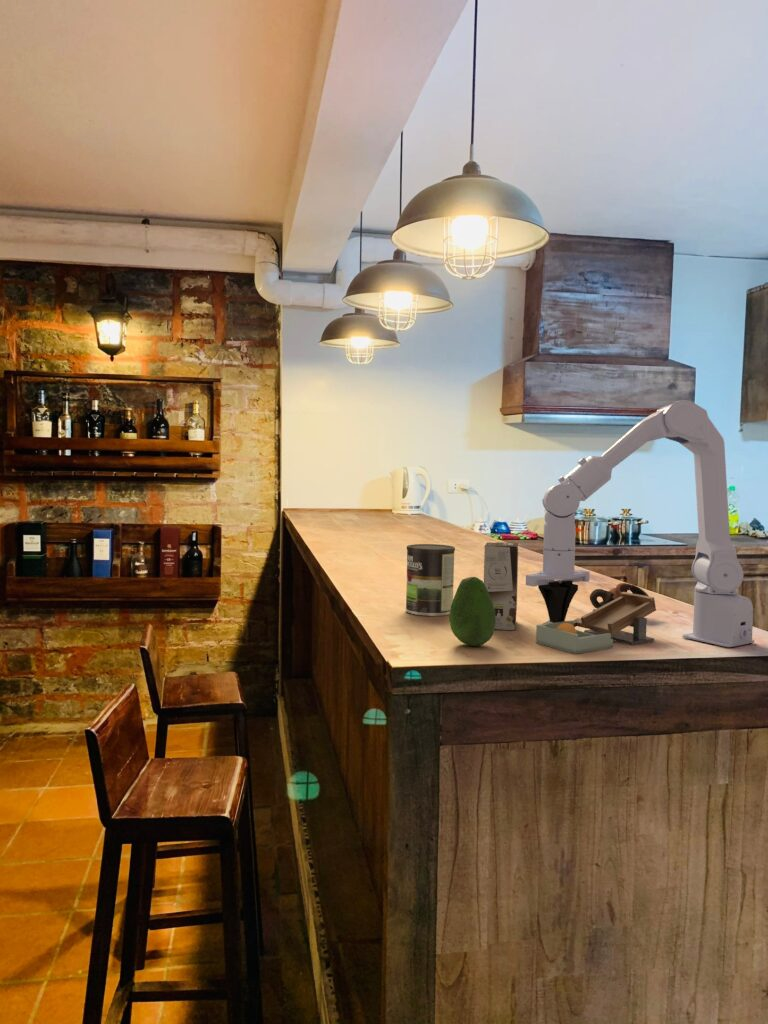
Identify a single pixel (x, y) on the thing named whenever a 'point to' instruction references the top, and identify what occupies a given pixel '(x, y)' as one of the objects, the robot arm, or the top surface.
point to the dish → (571, 639)
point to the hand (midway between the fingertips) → (557, 622)
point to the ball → (567, 627)
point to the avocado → (472, 613)
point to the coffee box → (502, 581)
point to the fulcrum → (630, 638)
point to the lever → (617, 613)
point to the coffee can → (429, 579)
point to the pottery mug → (613, 594)
